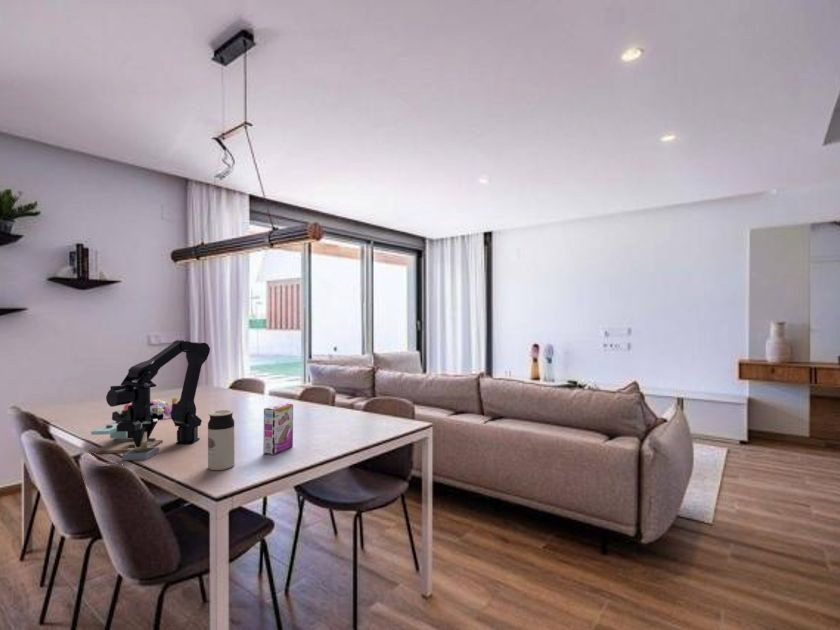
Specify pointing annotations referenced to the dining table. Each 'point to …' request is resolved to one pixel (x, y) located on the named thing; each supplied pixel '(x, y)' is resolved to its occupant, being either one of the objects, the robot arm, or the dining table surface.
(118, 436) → the teal lid
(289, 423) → the candy bar box
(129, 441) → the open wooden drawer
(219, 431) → the travel mug
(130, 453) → the slate tray
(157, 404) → the pastel sphere sculpture
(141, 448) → the maple peg
